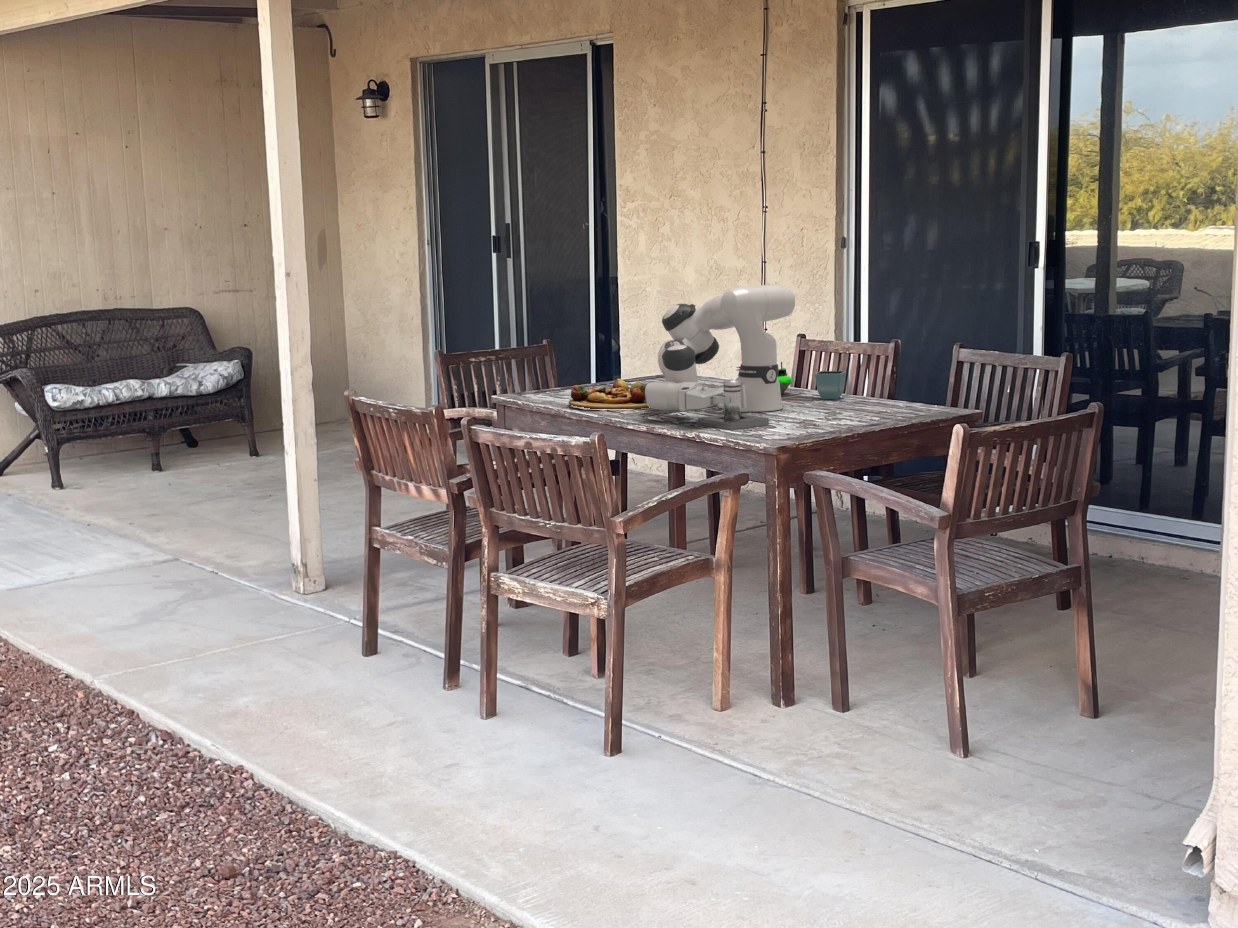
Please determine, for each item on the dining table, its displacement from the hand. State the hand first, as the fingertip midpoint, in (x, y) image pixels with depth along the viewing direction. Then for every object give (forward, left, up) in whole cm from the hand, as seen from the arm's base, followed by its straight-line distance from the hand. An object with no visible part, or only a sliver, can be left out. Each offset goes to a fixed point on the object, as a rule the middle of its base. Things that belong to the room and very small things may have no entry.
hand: (734, 398), depth 405 cm
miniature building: (-47, +55, -8) cm, 72 cm away
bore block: (-1, 0, -8) cm, 8 cm away
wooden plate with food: (-65, +2, -8) cm, 66 cm away
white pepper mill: (-1, 0, -7) cm, 7 cm away
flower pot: (-23, +59, -8) cm, 63 cm away
